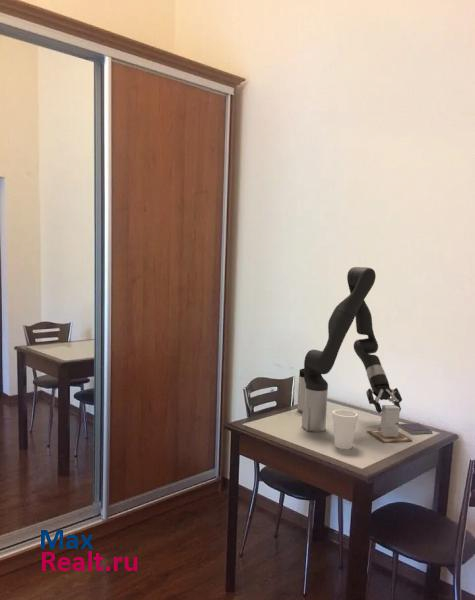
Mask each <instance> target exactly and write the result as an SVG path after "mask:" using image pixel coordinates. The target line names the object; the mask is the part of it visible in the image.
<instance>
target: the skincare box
mask: <svg viewBox="0 0 475 600" xmlns="http://www.w3.org/2000/svg"><path fill="white" fill-rule="evenodd" d="M381 409H382V412H381V416H380V420H381V421H380V429H379V430H380V433H381V434H382V435H383V436H384V437H397V436H398V432H399V428H400V427H399V424H400V412H401V411H400V408H399V407H398V406H396V405H394V404H382V405H381Z"/></svg>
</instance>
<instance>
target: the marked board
mask: <svg viewBox="0 0 475 600" xmlns="http://www.w3.org/2000/svg"><path fill="white" fill-rule="evenodd" d="M380 430H381V429H379V430H378V429H377V430H375V429H374V430H367V431H366V433H367V434H369V435H371V436H372V437H374V438H375V439H376V440H378V441H379V442H380V443H383V444H391V443H392V444H393V443H395V444H396V443H406V442H408V443H409V442H410V443H411V442H413V440H412V439H411V438H410V437H408V436H407V435H404V434H403V433H402V432H400V431H398V436H397V437H384V436H383V435H382V434H381V433H380Z"/></svg>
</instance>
